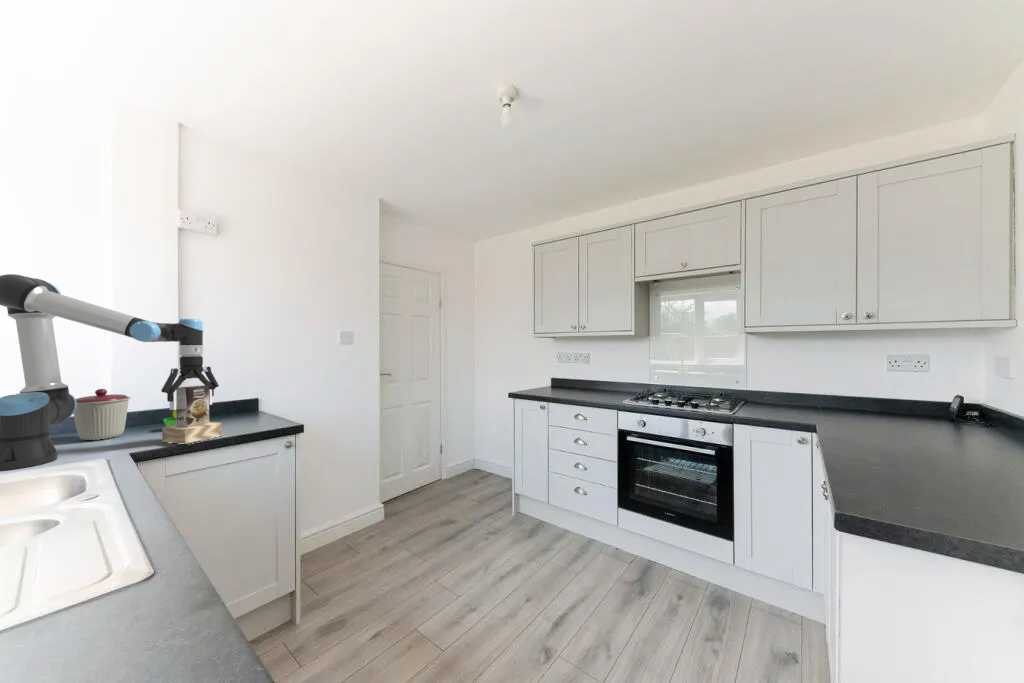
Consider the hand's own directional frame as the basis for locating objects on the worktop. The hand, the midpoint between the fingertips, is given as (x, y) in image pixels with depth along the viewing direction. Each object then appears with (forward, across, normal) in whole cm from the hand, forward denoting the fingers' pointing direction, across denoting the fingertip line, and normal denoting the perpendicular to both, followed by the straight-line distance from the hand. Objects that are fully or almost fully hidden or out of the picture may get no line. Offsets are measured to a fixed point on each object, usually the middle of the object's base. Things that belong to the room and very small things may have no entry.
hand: (191, 407), depth 164 cm
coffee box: (+8, 0, 0) cm, 8 cm away
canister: (+14, -10, +42) cm, 45 cm away
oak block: (+14, 0, 0) cm, 14 cm away
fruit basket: (+14, +12, +29) cm, 34 cm away
